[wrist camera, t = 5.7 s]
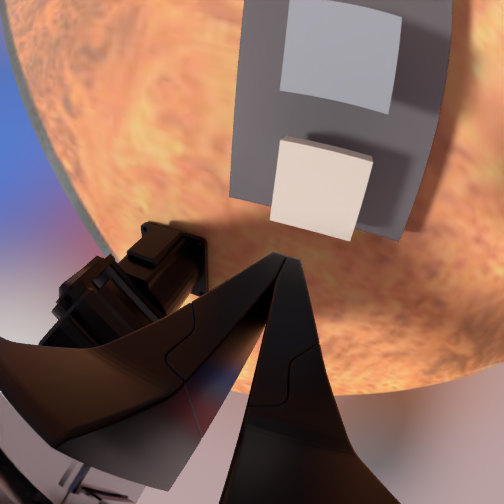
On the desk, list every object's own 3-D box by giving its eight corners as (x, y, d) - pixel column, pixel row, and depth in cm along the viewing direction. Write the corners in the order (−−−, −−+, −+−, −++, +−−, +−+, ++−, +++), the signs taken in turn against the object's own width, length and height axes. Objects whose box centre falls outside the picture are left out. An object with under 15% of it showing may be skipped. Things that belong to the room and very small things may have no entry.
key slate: (381, 109, 11) (387, 114, 9) (290, 89, 12) (279, 90, 10) (394, 27, 8) (401, 17, 6) (300, 9, 9) (289, -4, 7)
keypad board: (396, 229, 16) (399, 241, 15) (237, 188, 19) (229, 196, 18) (443, -37, 5) (449, -45, 4) (262, -68, 7) (254, -78, 6)
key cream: (351, 221, 16) (350, 241, 14) (279, 203, 17) (269, 220, 15) (370, 151, 13) (373, 162, 11) (289, 132, 14) (280, 140, 12)
